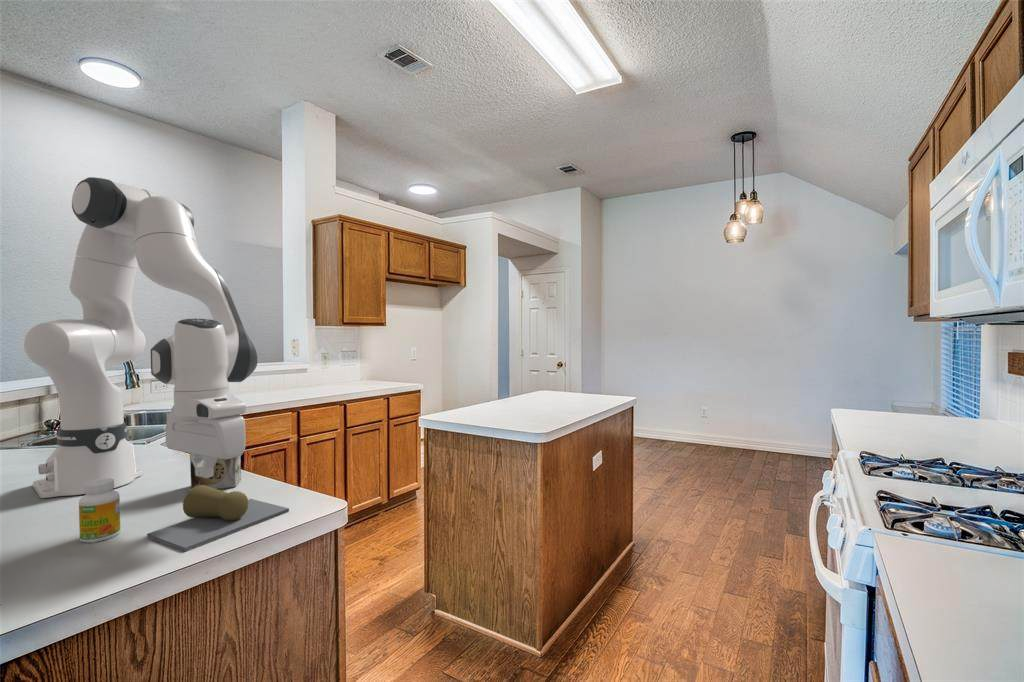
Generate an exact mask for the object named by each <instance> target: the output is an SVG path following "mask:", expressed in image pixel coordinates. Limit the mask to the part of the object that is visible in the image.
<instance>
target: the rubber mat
mask: <svg viewBox="0 0 1024 682" xmlns="http://www.w3.org/2000/svg"><path fill="white" fill-rule="evenodd" d="M248 502H249V505H248V509H247V511H246V512H245V514H244V515H243V516H242V517H240V518H239V519H237V520H233V521H227V520H224V519H222V518H221V517H195V518H190V519H187V520H183V521H181V522H178V523H175V524H172V525H169V526H166V527H163V528H160V529H157V530H154V531H151V532H148V533H146V537H147V538H149V539H150V540H151V539H152V540H155V541H157V542H160V543H162V544H164V545H167V546H170V547H173V548H175V549H177V550H181V551H183V552H188V551H190V550H193V549H195V548H198V547H200V546H203V545H205V544H208V543H212V542H214V541H216V540H219V539H222V538H224V537H226V536H229V535H231V534H234V533H237V532H240V531H242V530H245V529H246V528H250V527H253V526H255V525H257V524H260V523H263V522H266V521H269V520H270V518H271V519H272V518H275V517H279V516H280V514H281V515H284V514H285V513H288V511H289V512H290V508H289V507H285V506H283V505H282V506H281V505H277V504H273V503H270V502H266V501H262V500H258V499H253V498H250V499H249V498H248Z"/></svg>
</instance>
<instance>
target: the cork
mask: <svg viewBox="0 0 1024 682" xmlns="http://www.w3.org/2000/svg"><path fill="white" fill-rule="evenodd" d="M248 500H249V498H248V496H247V495H246V494H245V493H243V492H242V491H236V490H235V491H231V492H226V491H223V490H221V489H215V488H212V487H208V486H205V485H199V486H196V487H194V488H193V489H191V488H190V490H189V491H188V492H187V493H186V495H185V497H184V499H183V502H182V510H183V512H184V514H185V515H186V516H187V517H189V518H190V519H192V518H195V517H221V518H222V519H224V520H227V521H233V520H237V519H239V518H240V517H242V516H243V515H244V514H245V512H246V511H247V509H248V505H249V502H248Z"/></svg>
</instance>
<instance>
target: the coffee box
mask: <svg viewBox="0 0 1024 682" xmlns="http://www.w3.org/2000/svg"><path fill="white" fill-rule="evenodd" d="M189 460H190V461H189V462H190V466H189V467H190V468H189V469H190V490H191V489H193V488H194V487H196V486H199V485H205V486H208V487H212V488H215V489H218V490H221V489H228V488H236V487H237V486H238V485H239V483H240V482H241V481H242V461H241V460H242V459H241V456H238V457H234V458H230V459H219V458H218V459H217V461H216V463H215V466H214V475H213V476H212V477H209V478H202V477H198V476H196V475H195V467H194V465H193V462H192V460H191V453H189Z"/></svg>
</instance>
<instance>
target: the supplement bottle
mask: <svg viewBox="0 0 1024 682" xmlns="http://www.w3.org/2000/svg"><path fill="white" fill-rule="evenodd" d="M84 493H86V494H84V495H83V496H82V497H80V499H79V501H78V516H79V517H78V520H79V540H80V542H82V543H84V542H87V544H90V543H89V542H93V543H97V542H98V541H99V542H101V541H102V540H103V541H106V539H107V540H110V539H112V538H115V537H116V536H118V535H119V534H120V532H121V507H120V506H121V502H120V501H121V499H120V493H119V491H117V490H115V488H114V479H98V480H94V481H90V482H87V483H85V484H84ZM114 536H115V537H114ZM109 538H110V539H109ZM103 541H102V542H103Z"/></svg>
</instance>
